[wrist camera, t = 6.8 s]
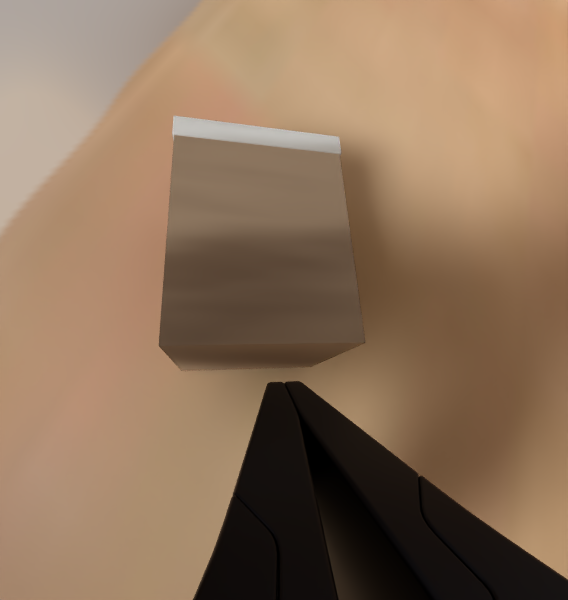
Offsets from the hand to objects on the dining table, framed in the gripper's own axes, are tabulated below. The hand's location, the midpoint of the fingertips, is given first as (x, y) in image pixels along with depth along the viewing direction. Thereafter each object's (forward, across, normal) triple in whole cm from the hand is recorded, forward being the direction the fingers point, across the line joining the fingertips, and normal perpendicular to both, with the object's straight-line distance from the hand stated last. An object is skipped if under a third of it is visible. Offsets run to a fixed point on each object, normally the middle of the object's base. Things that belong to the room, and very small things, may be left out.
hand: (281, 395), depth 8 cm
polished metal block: (+4, 0, -2) cm, 4 cm away
